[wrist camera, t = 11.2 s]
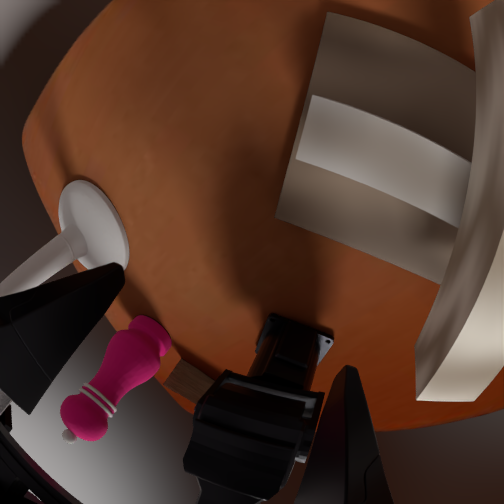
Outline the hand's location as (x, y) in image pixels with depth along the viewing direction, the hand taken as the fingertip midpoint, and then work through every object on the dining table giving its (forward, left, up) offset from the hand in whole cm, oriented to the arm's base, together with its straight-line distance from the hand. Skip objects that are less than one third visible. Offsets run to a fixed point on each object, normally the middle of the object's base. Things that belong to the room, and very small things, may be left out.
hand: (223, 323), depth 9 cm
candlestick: (-11, +22, -12) cm, 28 cm away
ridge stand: (+6, -10, -12) cm, 17 cm away
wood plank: (-30, +1, -12) cm, 32 cm away
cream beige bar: (+6, -10, -6) cm, 13 cm away
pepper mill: (-24, +13, -12) cm, 30 cm away
